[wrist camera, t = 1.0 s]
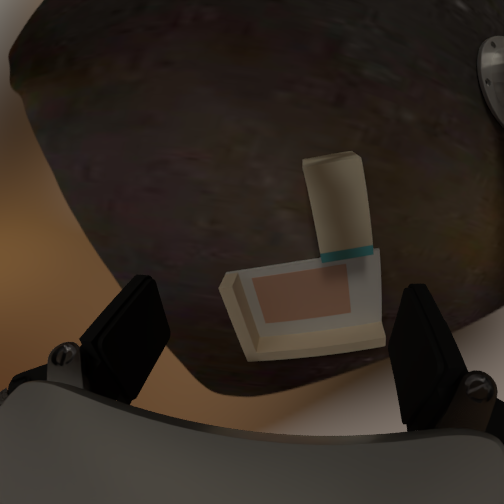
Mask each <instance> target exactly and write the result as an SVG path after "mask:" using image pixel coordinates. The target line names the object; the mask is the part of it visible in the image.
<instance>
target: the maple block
mask: <svg viewBox="0 0 504 504" xmlns="http://www.w3.org/2000/svg"><path fill="white" fill-rule="evenodd" d="M303 171H304V176H305V180H306V185H307V189H308V194H309V198H310V203H311V208H312V213H313V218H314V223H315V228H316V233H317V239H318V244H319V249H320V255H321V261H322V263H326V262H332V261H338V260H344V259H350V258H356V257H362V256H368V255H374V253H373V241H372V230H371V221H370V212H369V204H368V197H367V190H366V183H365V177H364V171H363V165H362V159H361V157H360V156H358V155H357V154H355V153H354V152H352V151H348V152H342V153H336V154H330V155H324V156H319V157H313V158H308V159H303Z"/></svg>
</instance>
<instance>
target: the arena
mask: <svg viewBox="0 0 504 504" xmlns="http://www.w3.org/2000/svg"><path fill="white" fill-rule="evenodd" d="M373 253H374V255H368V256H362V257H356V258H350V259H344V260H338V261H332V262H326V263H322V261H321V258H315V259H309V260H303V261H296V262H290V263H284V264H277V265H271V266H264V267H258V268H251V269H245V270H238V271H231V272H226V274H225V276H224V278H223V280H222V282H221V284H220V286H219V291H220V293H221V296H222V298H223V301H224V304H225V306H226V309H227V311H228V314H229V316H230V319H231V321H232V324H233V326H234V329H235V331H236V334H237V336H238V339H239V341H240V344H241V346H242V349H243V351H244V353H245V356H246V358H247V361H248V362H249V361H267V360H282V359H294V358H304V357H314V356H323V355H331V354H338V353H346V352H352V351H359V350H365V349H371V348H377V347H382V346H385V342H386V336H385V332H384V329H383V325H382V298H381V266H380V250H379V248H375V249H373Z"/></svg>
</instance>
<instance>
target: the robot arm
mask: <svg viewBox="0 0 504 504" xmlns="http://www.w3.org/2000/svg"><path fill="white" fill-rule="evenodd" d="M477 71H478V78H479V83H480V87H481V90H482V93H483V96H484V98H485V101H486V103H487V105H488V107H489V109H490V111H491V112H492V114H493V116H494V117H495V118H496V120H497V121H498V122H499V123H500V125H501V126H502V127H503V128H504V36H495V37H491V38H488V39H486V40H485V41H484V42H483V43H482V45H481V47H480V49H479V52H478V56H477ZM169 338H170V328H169V325H168V322H167V319H166V316H165V312H164V309H163V306H162V302H161V299H160V295H159V292H158V288H157V285H156V282H155V280H153V279H152V277H151V276H149V275H136V276H134V278H133V279H132V280H131V281H130V282H129V283H128V284H127V285H126V286H125V287H124V288H123V289H122V291H121V292H120V293H119V294H118V295H117V296H116V297H115V298H114V299H113V301H112V302H111V303H110V304H109V305H108V306H107V307H106V308H105V309H104V311H103V312H102V313H101V314H100V315H99V317H97V319H96V320H95V321H94V322H93V323H92V324H91V326H90V327H89V328H88V329H87V330H86V332H85V333H84V334H83V335H82V336H81V337H80V341H81V343H82V345H81V346H80V347H79V346H78V345H77V344H76V343H74V342H65V343H62V344H60V345H58V346H57V347H55V348H54V349H53V350H52V351H51V353H50V355H49V357H48V364H46V365H42V366H39V367H37V368H34V369H31V370H28V371H26V372H22V373H20V374H18V375H16V376H14V377H13V378H12V380H11V382H10V384H9V388H8V390H7V389H6V388H5V389H4V390H2V391H1V392H0V504H504V402H503V401H501V400H499V399H498V398H497V386H496V384H495V382H494V380H493V379H492V378H491V376H489V375H488V374H486V373H485V372H482V371H471V372H468V370H467V368H466V365H465V363H464V360H463V358H462V356H461V353H460V351H459V349H458V347H457V344H456V342H455V340H454V338H453V336H452V334H451V331H450V329H449V327H448V325H447V323H446V322H445V320H444V319H443V317H442V315H441V313H440V311H439V309H438V307H437V305H436V303H435V301H434V299H433V297H432V295H431V294H430V292H429V290H428V288H427V286H426V285H425V284H410V285H409V286H408V288H405V289H404V291H403V295H402V299H401V303H400V306H399V310H398V314H397V317H396V321H395V324H394V328H393V331H392V334H391V337H390V340H389V345H388V351H389V356H390V360H391V365H392V370H393V374H394V379H395V384H396V390H397V395H398V400H399V406H400V413H401V419H402V423H403V424H406V425H407V432H400V433H390V434H376V435H358V436H357V435H356V436H303V435H302V436H301V435H285V434H272V433H262V432H253V431H245V430H238V429H231V428H224V427H218V426H213V425H207V424H202V423H197V422H192V421H187V420H183V419H179V418H174V417H170V416H166V415H163V414H159V413H155V412H151V411H148V410H144V409H141V408H138V407H134V406H131V405H130V403H131V401H132V400H134V399H136V397H137V396H138V394H139V392H140V390H141V389H142V387H143V385H144V383H145V381H146V380H147V377H148V376H149V374H150V372H151V371H152V369H153V367H154V365H155V363H156V362H157V360H158V358H159V356H160V355H161V353H162V351H163V349H164V347H165V346H166V344H167V342H168V340H169ZM116 400H117V401H116ZM417 430H418V431H417Z"/></svg>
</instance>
